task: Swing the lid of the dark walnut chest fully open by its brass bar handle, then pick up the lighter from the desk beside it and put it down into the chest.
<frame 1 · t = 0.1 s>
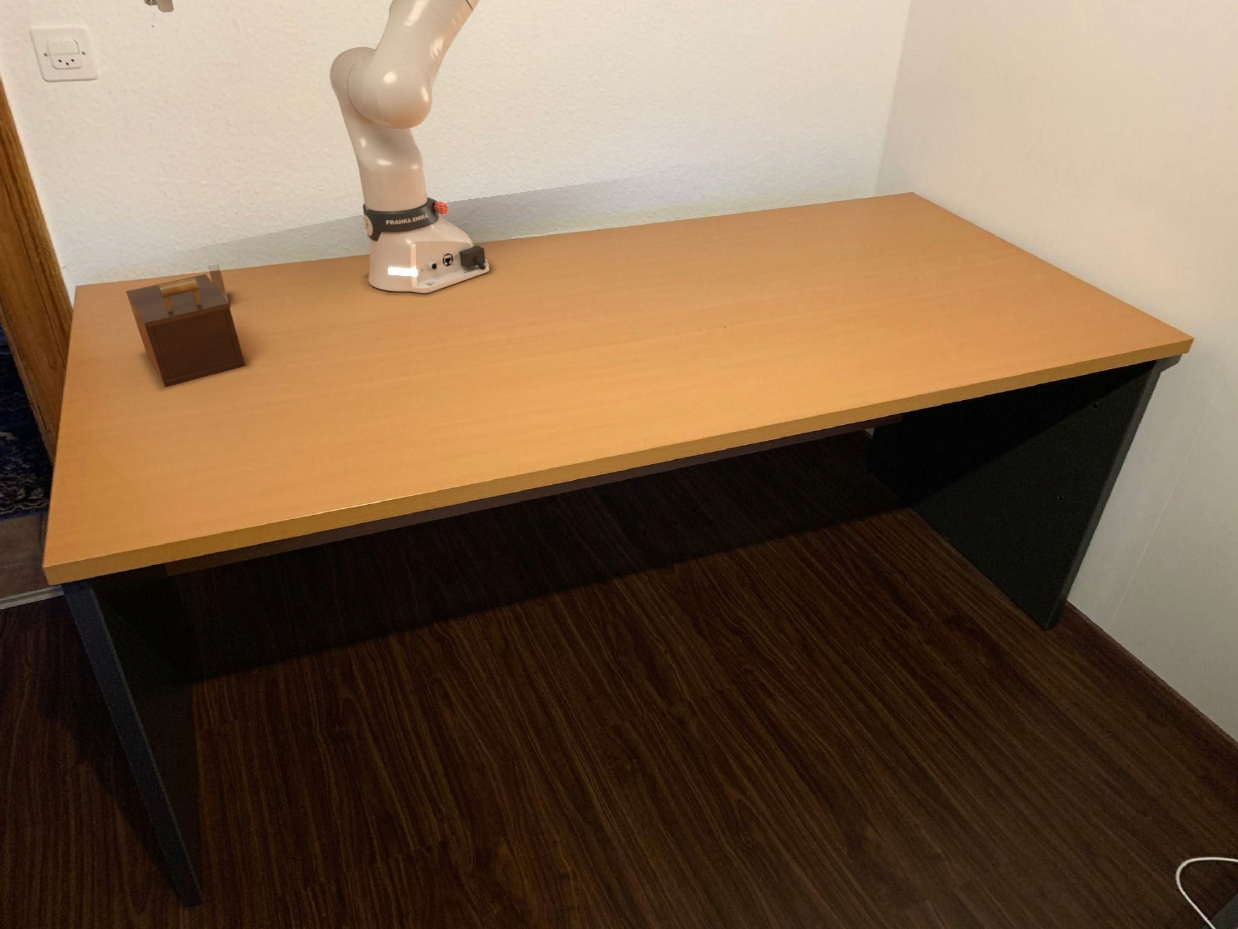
hand: (159, 8, 131), 48 cm above the table, tool pointing down, fingers open, 8 cm apart
chest: (195, 360, 144), on the table
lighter: (224, 304, 163), on the table
lid: (173, 286, 137), point 12 cm above the table, hinge at 0.0°
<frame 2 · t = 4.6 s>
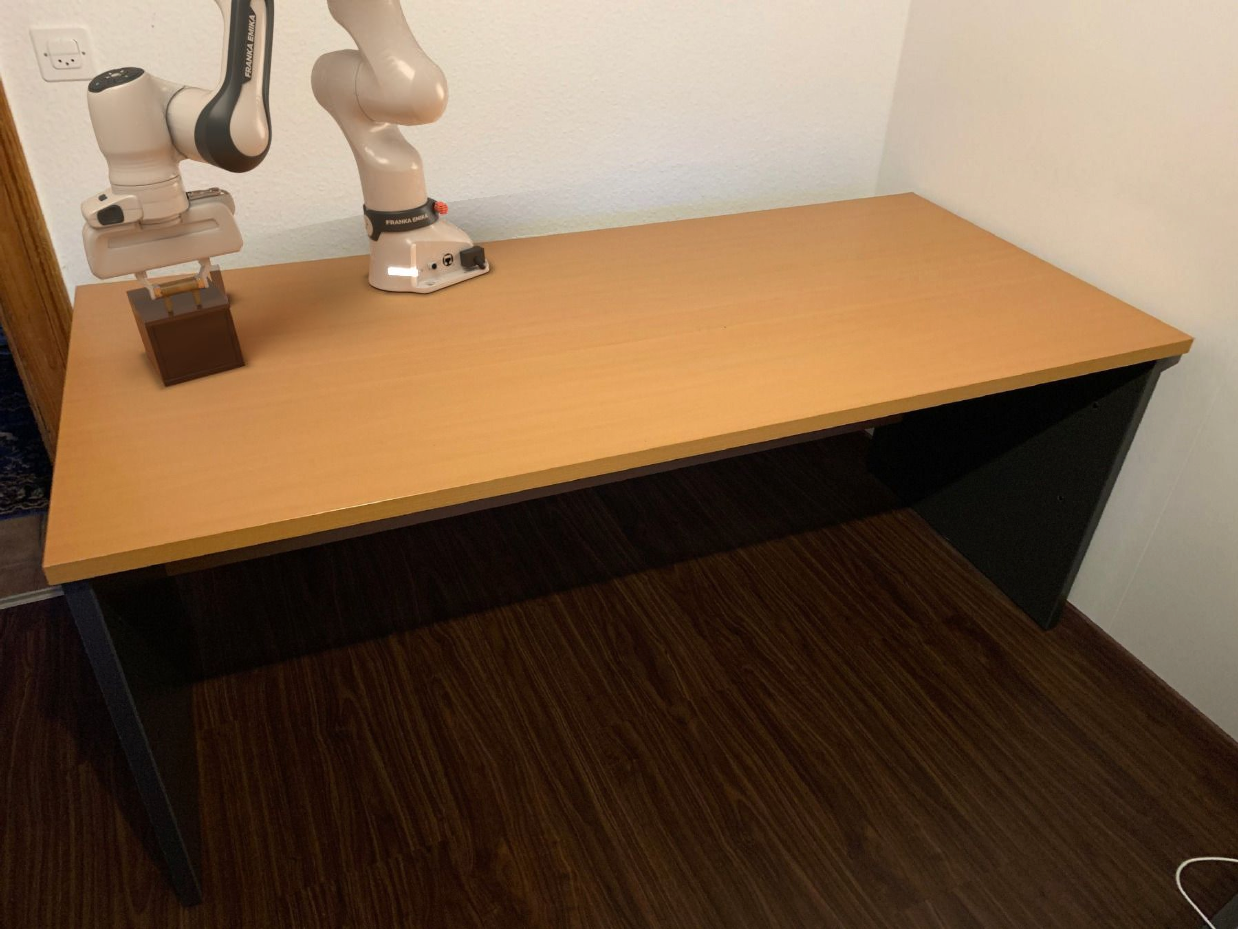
hand: (179, 292, 133), 13 cm above the table, tool pointing down, fingers closed on lid, 5 cm apart
lid: (173, 286, 137), point 12 cm above the table, hinge at 0.1°, touching gripper
everything else where it was.
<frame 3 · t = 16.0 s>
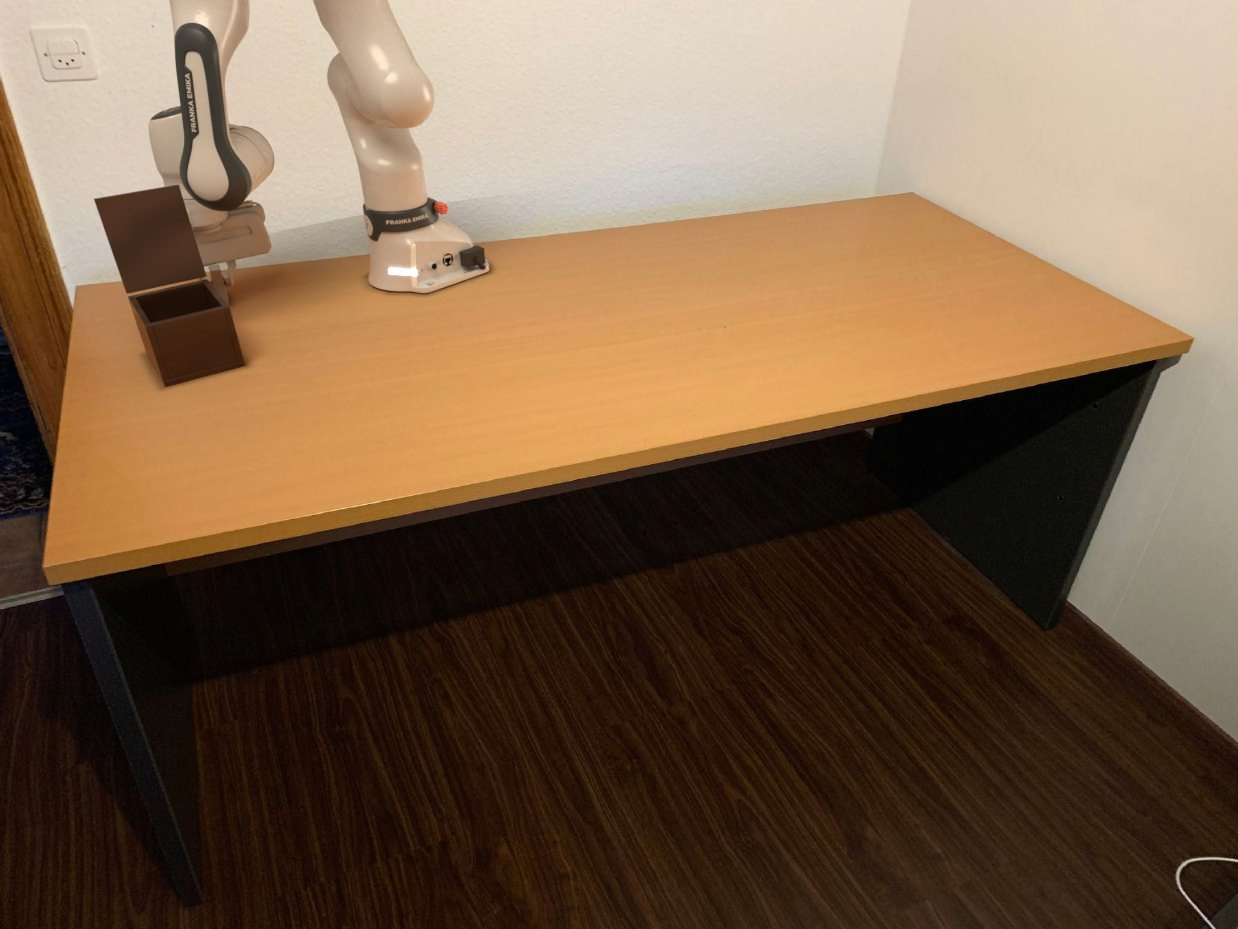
hand: (219, 287, 161), 3 cm above the table, tool pointing down, fingers closed on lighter, 2 cm apart
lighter: (224, 304, 163), on the table, touching gripper
lid: (150, 237, 142), point 17 cm above the table, hinge at 99.3°
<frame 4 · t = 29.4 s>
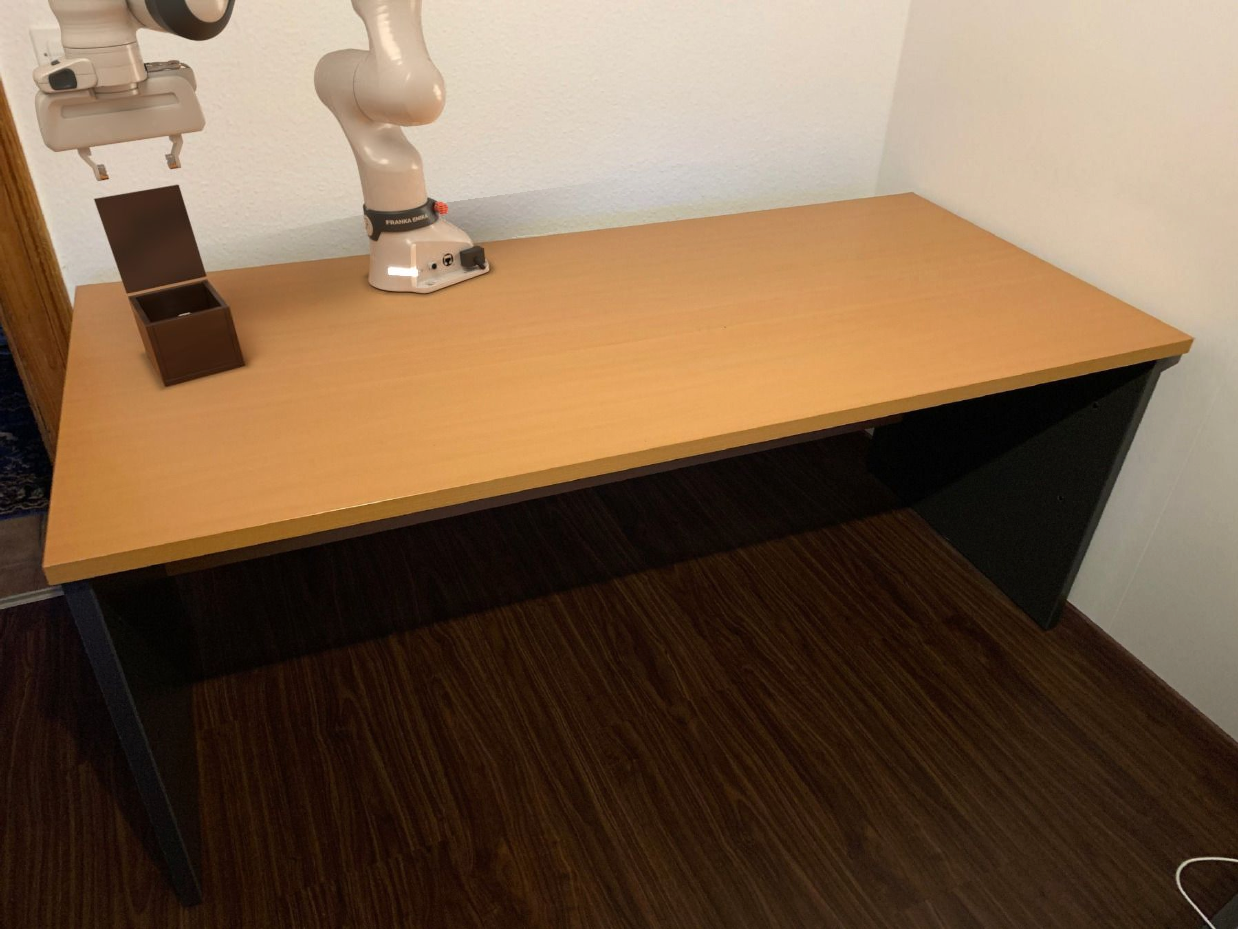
hand: (139, 173, 128), 29 cm above the table, tool pointing down, fingers open, 8 cm apart
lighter: (195, 356, 143), point 1 cm above the table, touching chest
everything else where it was.
at the end: lid at +99° (first picture: +0°); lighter inside the target area in the chest (0.5 cm from its centre), point 0.7 cm above the chest's base; the gripper is holding nothing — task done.
